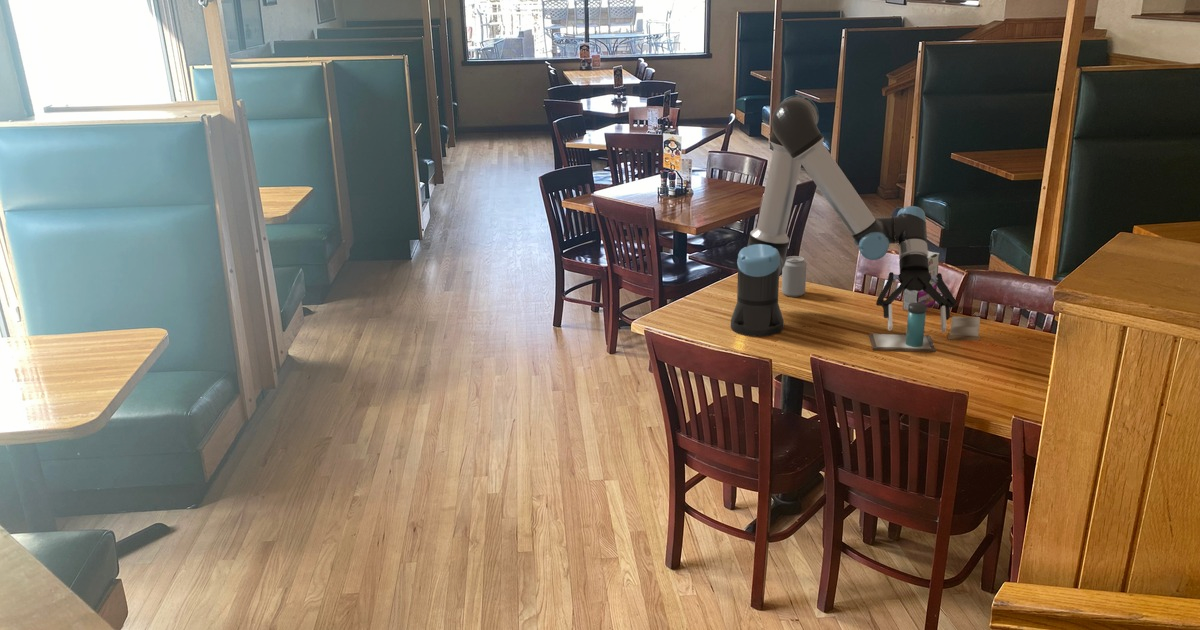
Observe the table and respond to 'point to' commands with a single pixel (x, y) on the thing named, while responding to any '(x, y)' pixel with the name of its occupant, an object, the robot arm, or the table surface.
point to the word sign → (965, 328)
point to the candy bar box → (921, 295)
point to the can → (794, 276)
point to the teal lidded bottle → (916, 324)
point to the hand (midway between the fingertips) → (917, 329)
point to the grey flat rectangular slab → (899, 343)
